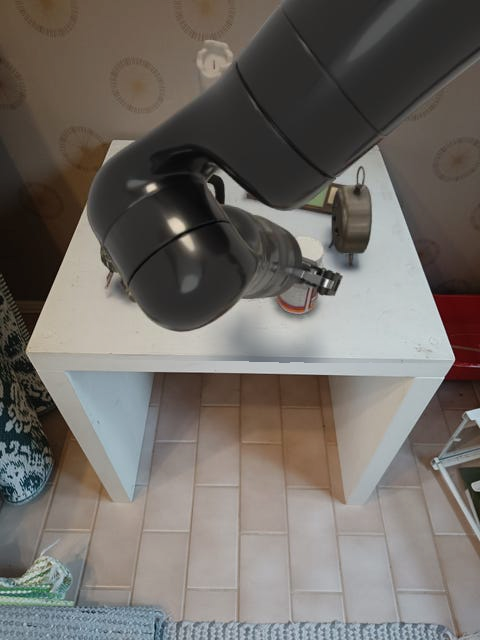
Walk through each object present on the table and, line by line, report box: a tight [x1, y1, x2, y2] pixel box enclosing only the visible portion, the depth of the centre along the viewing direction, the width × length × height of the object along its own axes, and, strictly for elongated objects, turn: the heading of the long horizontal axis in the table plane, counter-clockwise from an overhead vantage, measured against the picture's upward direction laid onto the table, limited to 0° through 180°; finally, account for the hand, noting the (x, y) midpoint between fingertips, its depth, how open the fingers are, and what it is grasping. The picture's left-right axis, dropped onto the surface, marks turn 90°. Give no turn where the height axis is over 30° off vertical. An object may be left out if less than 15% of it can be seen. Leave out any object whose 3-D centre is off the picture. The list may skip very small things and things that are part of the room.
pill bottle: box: [277, 236, 324, 315], centre depth 64 cm, size 6×6×11 cm
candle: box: [196, 39, 235, 95], centre depth 85 cm, size 7×14×20 cm, turn 167°
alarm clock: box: [328, 165, 373, 267], centre depth 69 cm, size 11×5×16 cm, turn 179°
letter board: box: [246, 182, 347, 216], centre depth 84 cm, size 22×9×1 cm, turn 73°
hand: (290, 266), depth 56 cm, fingers open, 8 cm apart
